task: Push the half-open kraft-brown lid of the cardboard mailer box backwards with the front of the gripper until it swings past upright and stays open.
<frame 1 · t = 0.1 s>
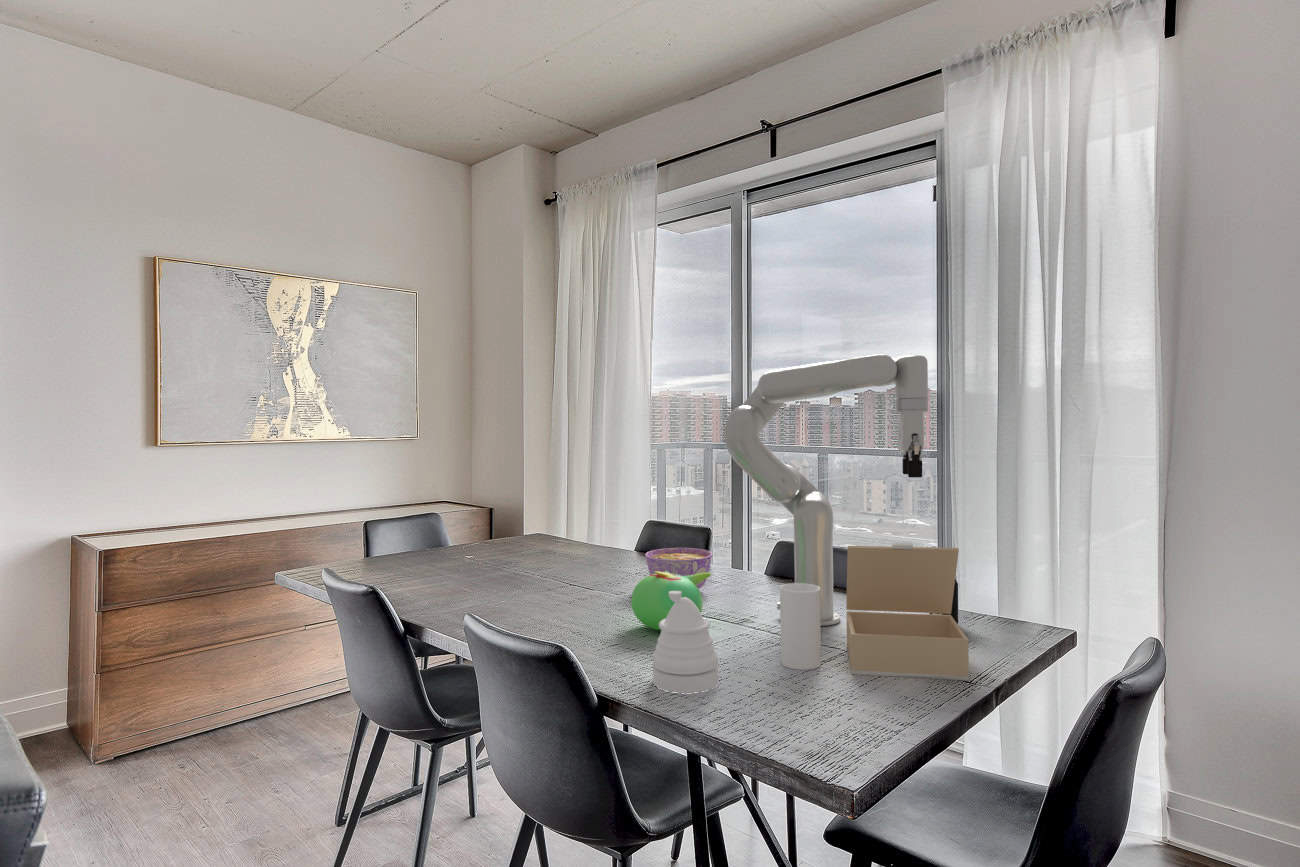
hand: (912, 475, 182), 37 cm above the table, tool pointing down, fingers open, 9 cm apart
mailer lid: (900, 578, 159), point 17 cm above the table, hinge at 60.0°
bowl of food: (679, 593, 219), on the table
mailer box: (903, 662, 154), on the table
honey pot: (685, 683, 145), on the table
beverage can: (943, 626, 181), on the table
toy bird: (668, 630, 181), on the table
cup: (800, 664, 155), on the table
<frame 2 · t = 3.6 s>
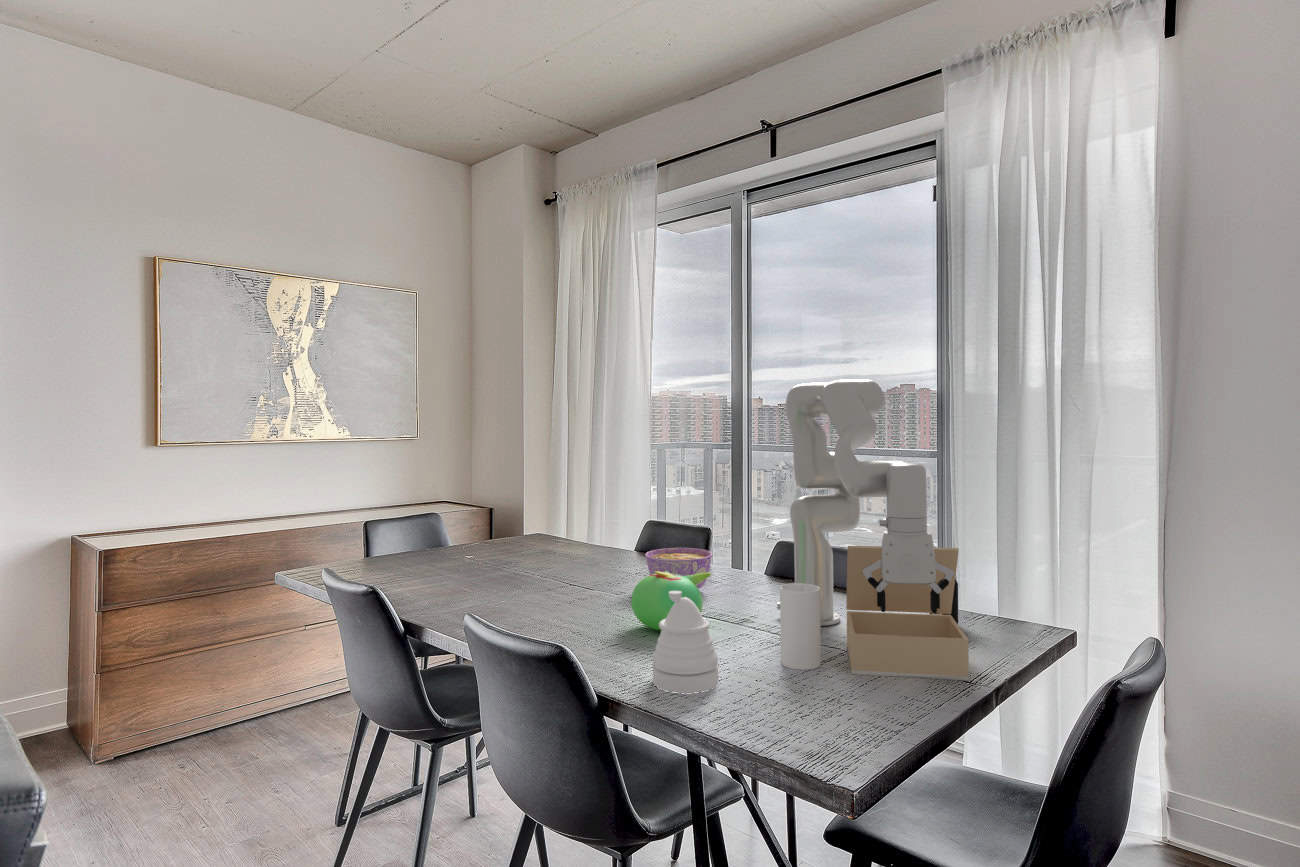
hand: (908, 611, 147), 13 cm above the table, tool pointing down, fingers open, 9 cm apart
nothing on the table moved.
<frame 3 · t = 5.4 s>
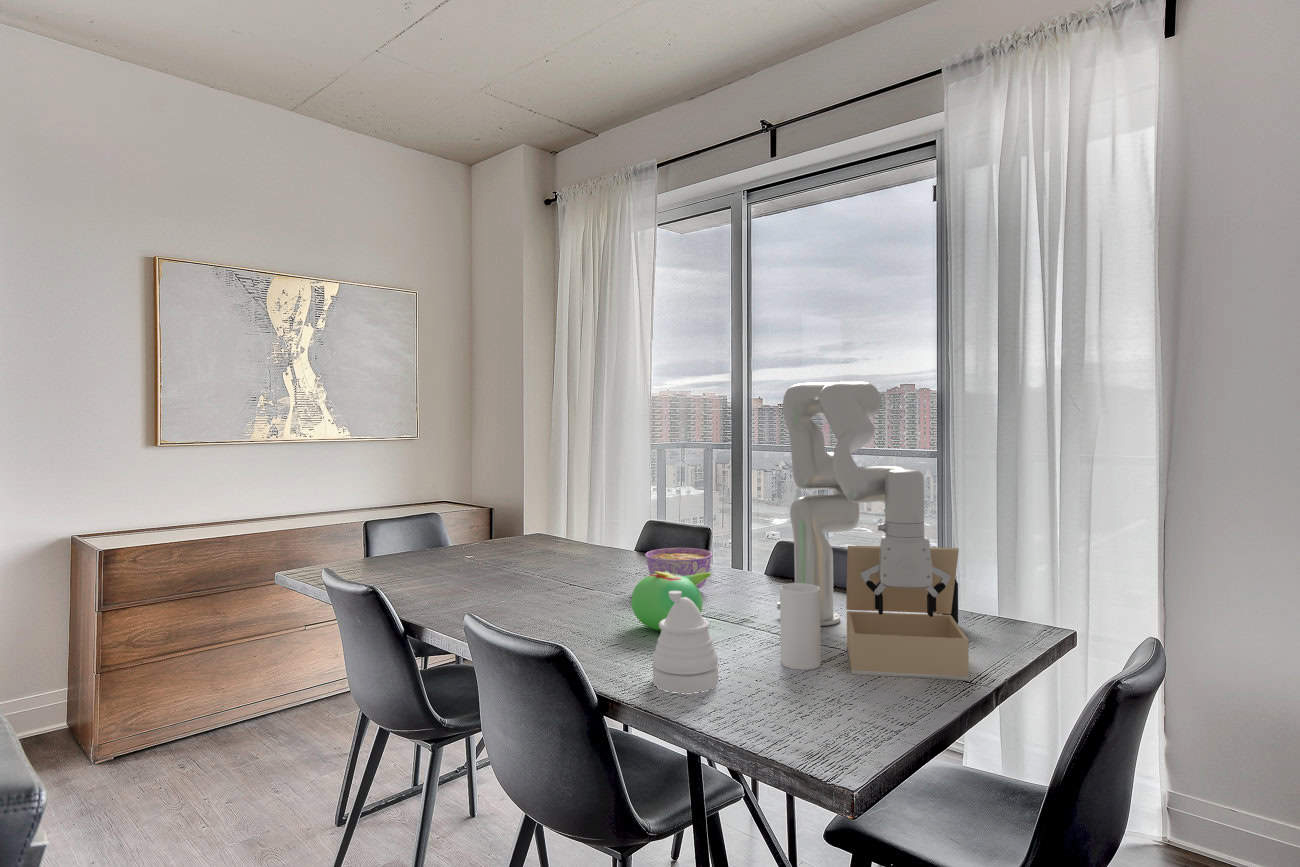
hand: (905, 613, 150), 11 cm above the table, tool pointing down, fingers open, 9 cm apart
nothing on the table moved.
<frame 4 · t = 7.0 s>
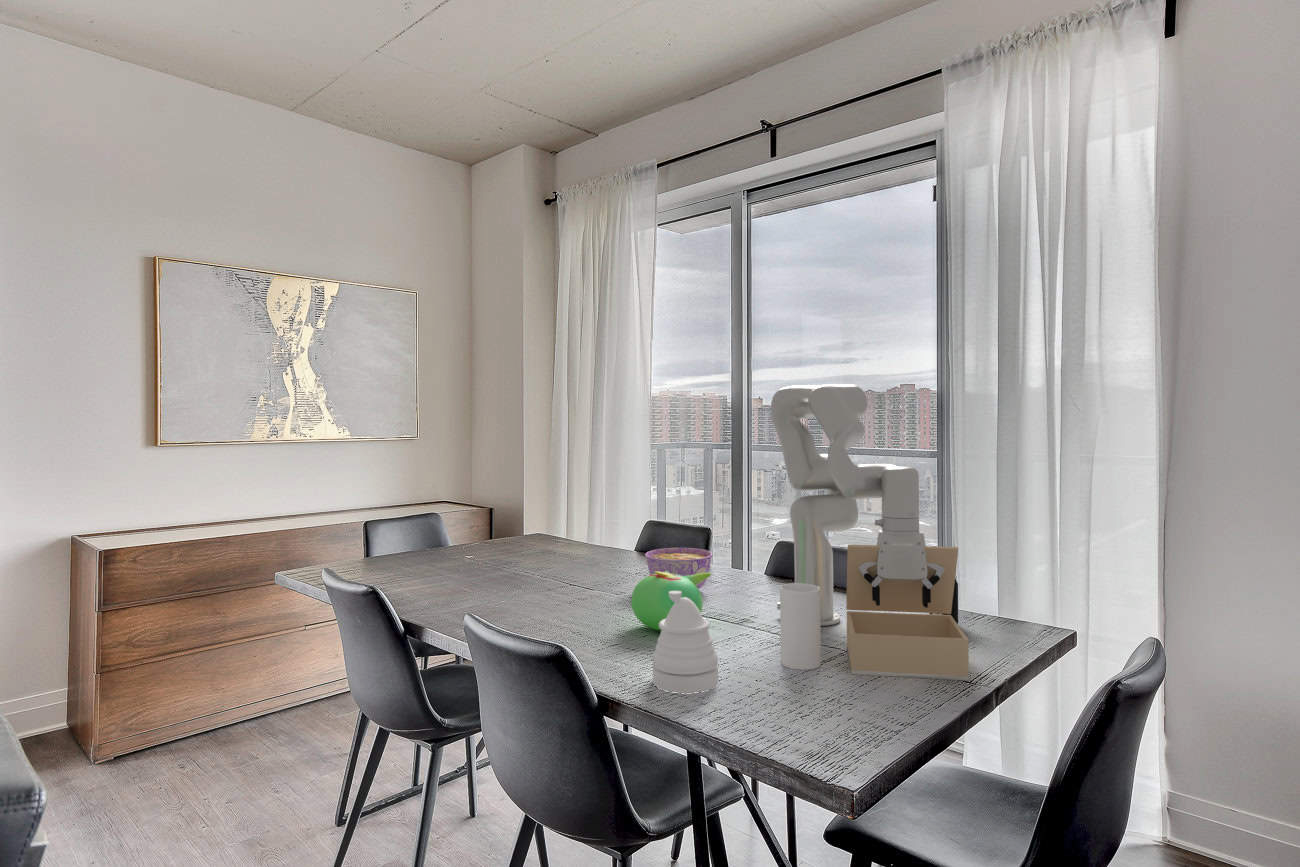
hand: (901, 605, 157), 11 cm above the table, tool pointing down
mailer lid: (900, 577, 159), point 17 cm above the table, hinge at 61.2°, touching gripper
everything else where it was.
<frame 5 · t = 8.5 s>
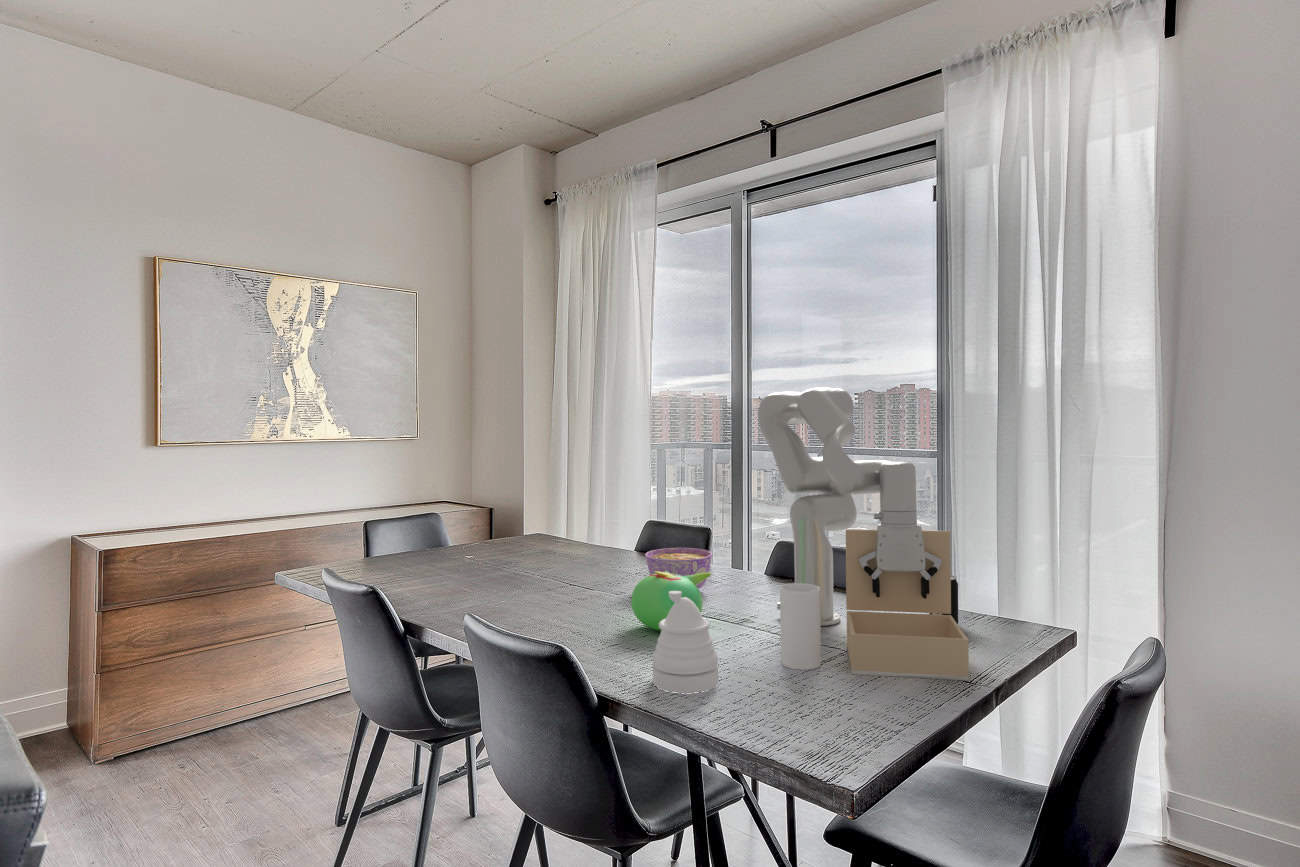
hand: (900, 596, 161), 12 cm above the table, tool pointing down
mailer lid: (897, 568, 163), point 18 cm above the table, hinge at 90.6°, touching gripper
everything else where it was.
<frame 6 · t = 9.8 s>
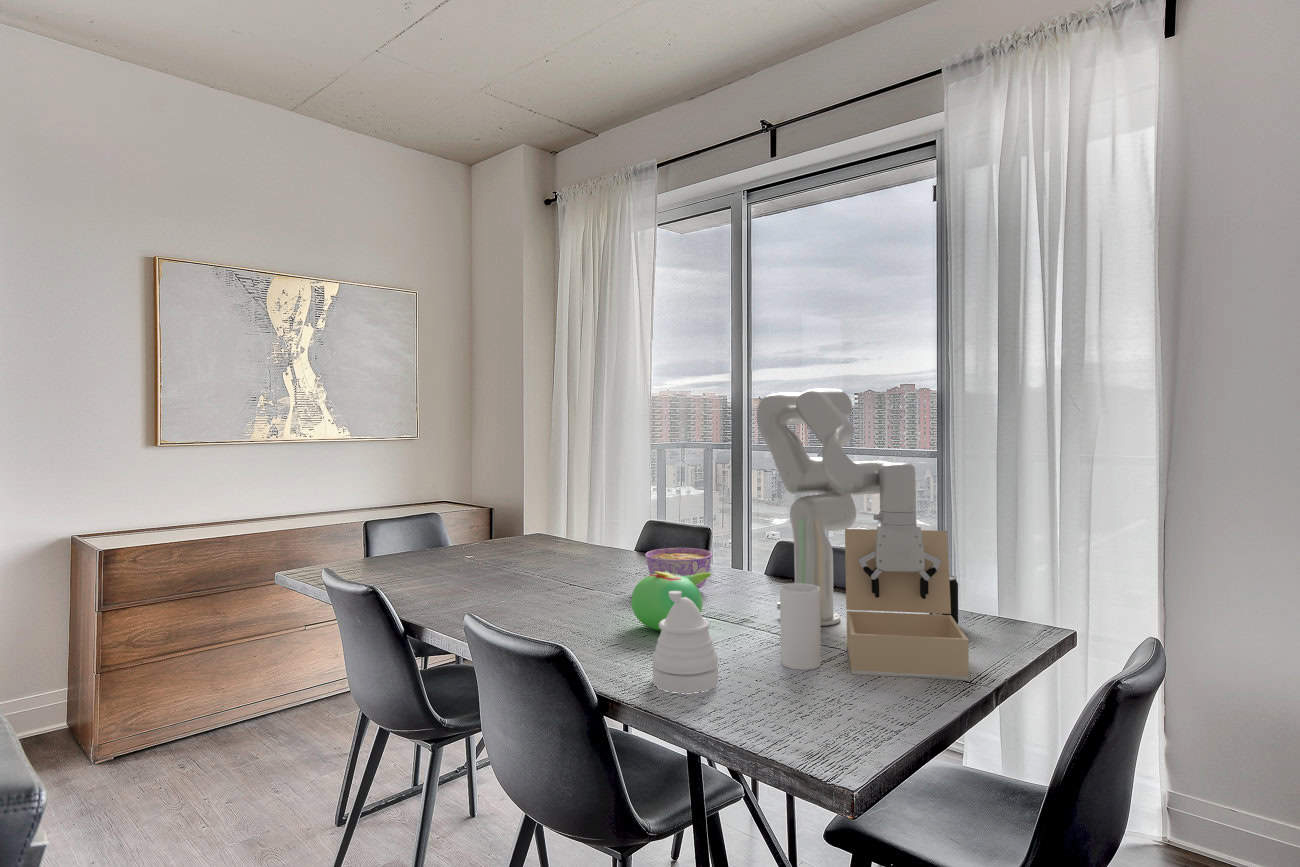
hand: (899, 597, 162), 12 cm above the table, tool pointing down, fingers open, 9 cm apart
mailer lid: (896, 568, 165), point 17 cm above the table, hinge at 103.0°
everything else where it was.
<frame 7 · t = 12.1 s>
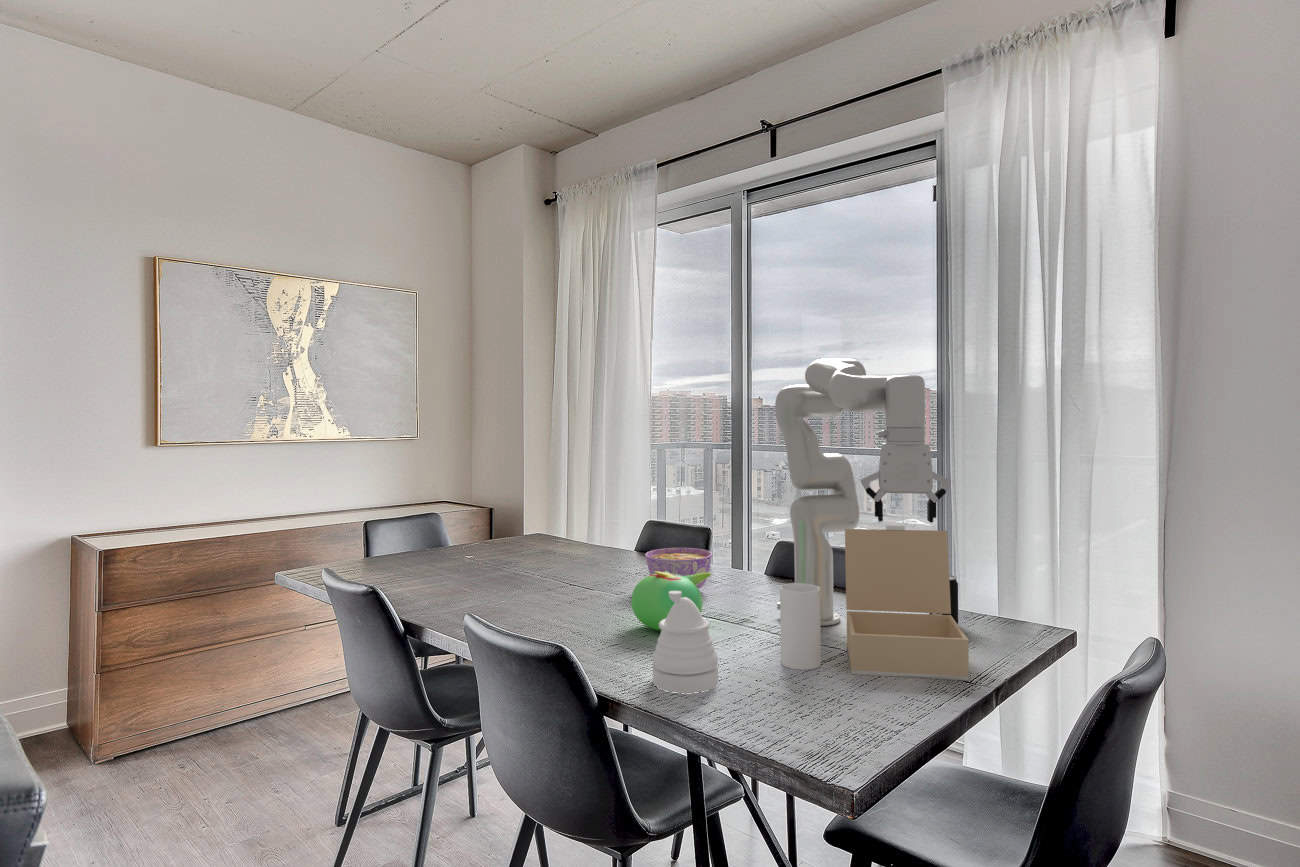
hand: (905, 520, 150), 30 cm above the table, tool pointing down, fingers open, 9 cm apart
nothing on the table moved.
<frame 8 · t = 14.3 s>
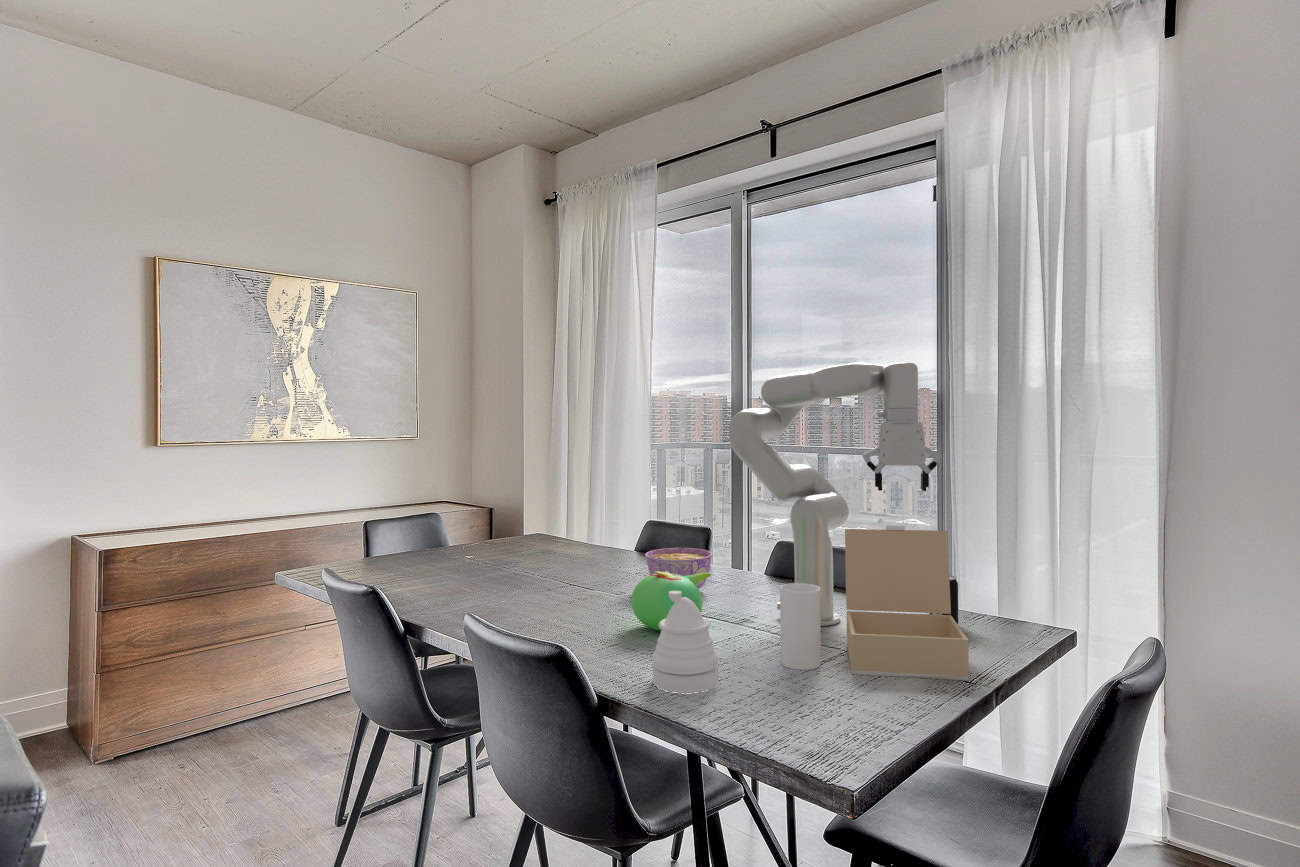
hand: (901, 490, 171), 34 cm above the table, tool pointing down, fingers open, 9 cm apart
nothing on the table moved.
at the end: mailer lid at +103° (first picture: +60°); cup moved 0.2 cm from its start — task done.
